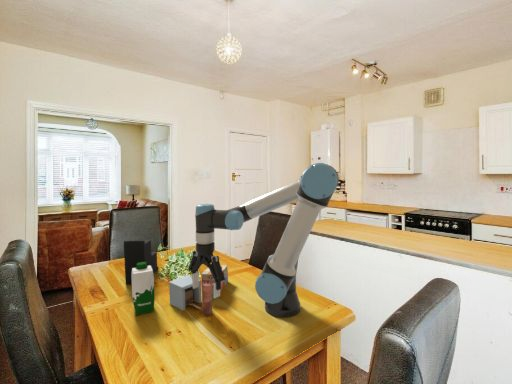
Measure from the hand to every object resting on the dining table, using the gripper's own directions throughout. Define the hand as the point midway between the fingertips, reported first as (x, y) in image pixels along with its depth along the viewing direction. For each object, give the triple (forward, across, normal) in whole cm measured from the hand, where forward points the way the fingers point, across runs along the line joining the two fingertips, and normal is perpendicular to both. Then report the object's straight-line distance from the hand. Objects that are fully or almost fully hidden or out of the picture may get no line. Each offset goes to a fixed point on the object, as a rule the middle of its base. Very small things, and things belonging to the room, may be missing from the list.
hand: (205, 292), depth 115 cm
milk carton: (+10, +23, +15) cm, 29 cm away
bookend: (+10, +62, -5) cm, 63 cm away
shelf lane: (+9, +14, 0) cm, 17 cm away
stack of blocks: (+10, +15, -18) cm, 25 cm away
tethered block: (+9, +7, 0) cm, 12 cm away
